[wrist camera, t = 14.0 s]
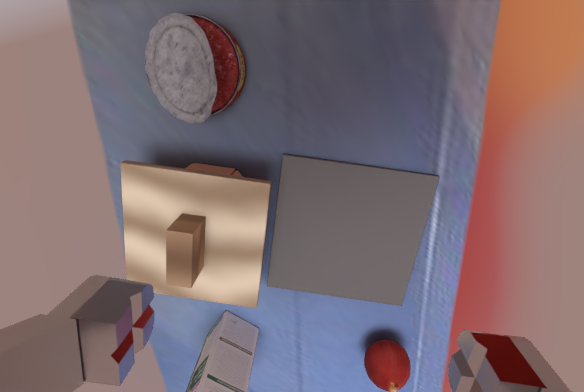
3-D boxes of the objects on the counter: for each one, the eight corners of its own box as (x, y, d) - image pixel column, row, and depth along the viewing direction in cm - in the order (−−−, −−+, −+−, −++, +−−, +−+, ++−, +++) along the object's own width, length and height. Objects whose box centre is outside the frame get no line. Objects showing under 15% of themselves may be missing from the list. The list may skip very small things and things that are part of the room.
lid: (125, 160, 34) (95, 174, 30) (271, 180, 34) (264, 198, 29) (131, 283, 40) (107, 312, 35) (258, 302, 39) (250, 333, 35)
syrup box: (225, 308, 47) (189, 403, 34) (261, 328, 48) (240, 429, 35) (207, 334, 49) (165, 435, 36) (241, 353, 50) (214, 458, 36)
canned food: (231, 109, 43) (197, 160, 36) (158, 59, 40) (107, 104, 33) (276, 37, 35) (242, 85, 28) (188, -31, 32) (128, 3, 25)
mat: (283, 153, 39) (282, 155, 39) (437, 175, 39) (439, 176, 38) (267, 283, 45) (267, 286, 45) (400, 303, 45) (401, 306, 45)
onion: (400, 359, 48) (416, 411, 41) (360, 357, 49) (368, 409, 41) (404, 326, 46) (421, 375, 39) (362, 325, 47) (371, 373, 39)
